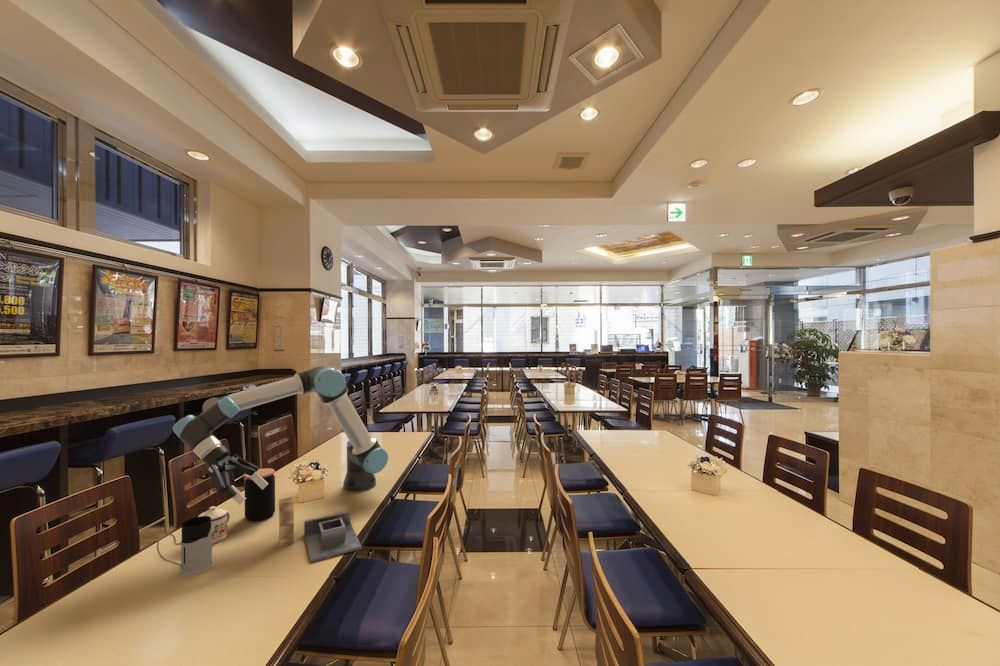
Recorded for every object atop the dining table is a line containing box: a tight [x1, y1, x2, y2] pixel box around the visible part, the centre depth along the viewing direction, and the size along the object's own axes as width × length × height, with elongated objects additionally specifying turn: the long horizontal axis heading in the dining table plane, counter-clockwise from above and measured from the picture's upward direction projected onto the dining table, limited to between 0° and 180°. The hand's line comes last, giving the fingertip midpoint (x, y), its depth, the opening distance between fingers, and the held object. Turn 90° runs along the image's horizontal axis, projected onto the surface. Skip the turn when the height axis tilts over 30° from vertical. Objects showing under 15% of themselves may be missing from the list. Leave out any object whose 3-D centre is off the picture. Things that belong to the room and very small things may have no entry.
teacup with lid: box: [197, 505, 230, 545], centre depth 149 cm, size 12×9×12 cm
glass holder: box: [156, 516, 215, 578], centre depth 127 cm, size 9×14×15 cm, turn 141°
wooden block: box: [278, 496, 295, 547], centre depth 144 cm, size 4×4×15 cm
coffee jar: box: [244, 467, 276, 523], centre depth 165 cm, size 11×11×18 cm
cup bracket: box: [303, 510, 363, 564], centre depth 145 cm, size 16×22×6 cm
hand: (254, 494), depth 144 cm, fingers open, 13 cm apart
